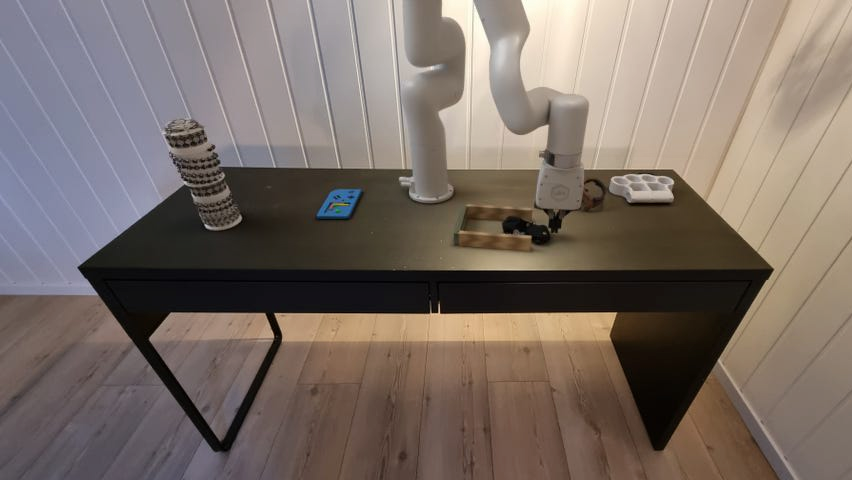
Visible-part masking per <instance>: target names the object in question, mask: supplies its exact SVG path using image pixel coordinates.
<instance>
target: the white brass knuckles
mask: <svg viewBox="0 0 852 480" xmlns="http://www.w3.org/2000/svg"><path fill="white" fill-rule="evenodd" d="M674 185H675V180H674V179H673V178H671V177H669V176H665V175H661V176H660V175H654V174H653V175H652V174H650V173H649V174H648V173H641V174H635V173H629V174H625V175H622V176H621V175H620V176H618V175H617V176H616V175H615V176H613V177H611V179H610V182H609V187H608V191H609V192H610V193H611V194H612V195H615V196H619V197H623V198H625V200H626V201H627V203H629V204H634V203H635V204H636V203H638V204H639V203H645V204H646V203H647V204H651V203H667V204H669V203H673V202H674V199H675V198H674V194H673V192H672V191H673V189H674Z"/></svg>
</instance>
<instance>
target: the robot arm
mask: <svg viewBox="0 0 852 480" xmlns="http://www.w3.org/2000/svg"><path fill="white" fill-rule="evenodd" d="M472 1H473V4H474V6H475V10H476V12H477V15H478V17H479V21H480V22H481V26H482V28H483V31H484V34H485V36H486V39H487V42H488V44H489V49H490V53H489V61H488V81H489V89H490V93H491V96H492V97H491V98H492V99H493V102H494V104H495V105H494V106H495V107H496V110H497V112H498V115H499V117H500V119H501V121H502V123H503V125H504V126H505V127H506V128H507V130H508V131H509V132H510V133H512V134H514V135H517V136H526V135H528V134H531V133H532V132H534V131H536V130H537V129H539V128H542V127H545V126H548V129H547V139H546V146H545V147H546V148H545V149H543V150H538V158H542V159H543V160H542V161H541V165H540V168H539V171H538V172H539V173H538V176H537V182H536V190H535V200H534V203H533V209H536V210H539V211H542V212H544V214H546V215H547V216H548V224H547V225H548V226H547V228H548V229H550V234H554V233H555V234H559V230H561V229H562V226H563V225H562V224H563V219H564V218H565V217H566V216H567V215H569V214H570V213H574V212H579V211H581V210H582V208H581V206H582V203H583V199H582V195H583V186H584V187H585V185H584V179H585V165H584V163H583V162H582V157H583V151H584V143H585V136H586V130H587V125H588V118H589V111H590V101H589V100H588V98H587V97H586V96H584V95H582V94H576V93H564V92H561V91H559V90H557V89H554V88H550V87H548V86H537V87H534V88H532V89H530V90H527V91H526V87H525V85H524V80H523V77H522V72H521V57H522V51H523V49H524V46H525V44H526V42H527V40H528V38H529V35H530V32H531V25H530V22H529V19H528V16H527V13H526V10H525V7H524V4H523V0H472ZM401 3H402V24H403V25H402V26H403V28H402V29H403V46H404V53H405V56H406V57H405V58H407V61H408V62H409V64H410V65H411V66H413V67H415V68H420V69H425V68H431V67H433V69H429V70H428V69H427V70H425V71H421V72H418V73H414V74H412V75H410V76H409V77H407V78H406V79H405V80H404V81H403V83H402V85H401V88H400V101H401V105H402V108H403V111H404V115H405V119H406V125H407V131H408V133H407V134H408V141H409V149H410V151H409V152H410V159H411V170H412V171H411V172H412V176H410V177H406V176H399V178H398V182H399V184H400V187H401V188H409V189H408V195H409V197H410V198H411V199H412V200H413V201H416V202H418V203H422V204H437V203H442V202H445V201H447V200H449V199H451V198H452V197H453V196H454V187H453V186H452V184H451V183H449V182H448V181H449V179H448V156H447V136H446V135H447V134H446V128H445V125H444V123H443V121H442V118H441V116H440V114H439V113H440V112H441V111H443V110H445V109H448V108H451V107H453V106H455V105H457V104H458V103H459V102H460V101H461V99H462V97H463V95H464V91H465V82H466V81H465V77H466V53H467V52H466V50H467V44H466V37H465V34H464V31H463V29H462V26H461V25H460V24H459V23H458V21H457V20H455V19H454V18H452V17H449V16H443V0H402V1H401ZM554 210H558V211H557V212H556V211H554Z"/></svg>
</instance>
